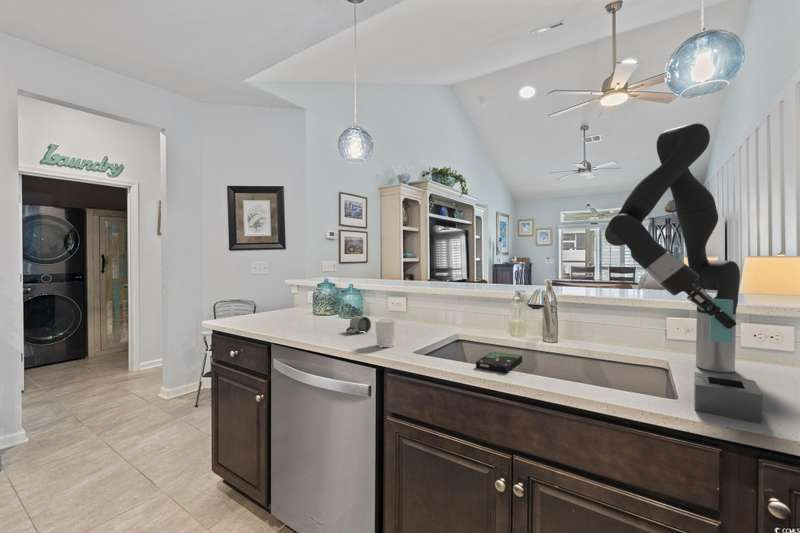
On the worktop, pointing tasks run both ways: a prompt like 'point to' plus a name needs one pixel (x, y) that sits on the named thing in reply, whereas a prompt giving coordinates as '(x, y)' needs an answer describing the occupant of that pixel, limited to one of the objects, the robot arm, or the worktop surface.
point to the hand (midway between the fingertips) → (731, 324)
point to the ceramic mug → (359, 324)
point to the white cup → (385, 332)
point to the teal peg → (718, 329)
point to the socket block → (728, 397)
